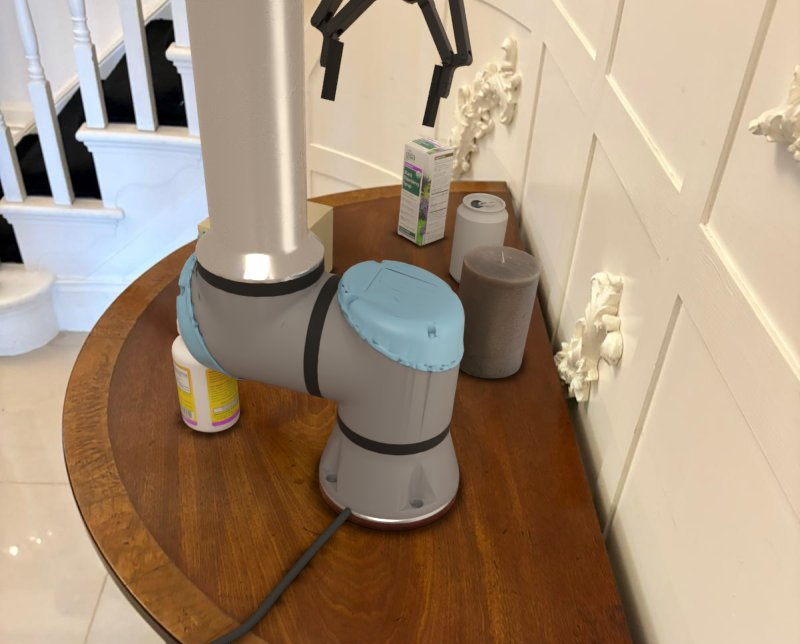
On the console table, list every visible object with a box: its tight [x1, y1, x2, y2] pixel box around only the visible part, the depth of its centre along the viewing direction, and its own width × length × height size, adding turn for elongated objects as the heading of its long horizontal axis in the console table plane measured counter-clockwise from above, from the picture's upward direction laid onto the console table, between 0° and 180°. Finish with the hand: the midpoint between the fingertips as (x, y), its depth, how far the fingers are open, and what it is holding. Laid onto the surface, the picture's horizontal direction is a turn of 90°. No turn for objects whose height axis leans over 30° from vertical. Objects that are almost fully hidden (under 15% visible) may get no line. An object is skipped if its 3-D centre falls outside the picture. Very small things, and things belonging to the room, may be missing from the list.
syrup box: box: [397, 136, 456, 247], centre depth 125 cm, size 6×6×14 cm
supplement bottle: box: [171, 318, 241, 433], centre depth 88 cm, size 7×7×13 cm
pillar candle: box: [457, 245, 543, 379], centre depth 100 cm, size 10×10×15 cm
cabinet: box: [197, 200, 334, 273], centre depth 113 cm, size 15×14×10 cm
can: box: [449, 192, 509, 284], centre depth 117 cm, size 8×8×12 cm
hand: (377, 113), depth 98 cm, fingers open, 13 cm apart
